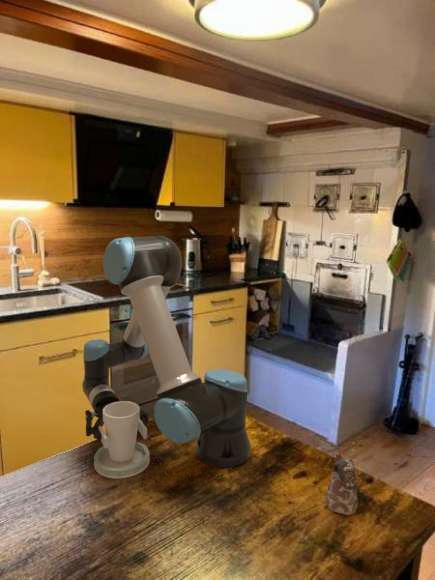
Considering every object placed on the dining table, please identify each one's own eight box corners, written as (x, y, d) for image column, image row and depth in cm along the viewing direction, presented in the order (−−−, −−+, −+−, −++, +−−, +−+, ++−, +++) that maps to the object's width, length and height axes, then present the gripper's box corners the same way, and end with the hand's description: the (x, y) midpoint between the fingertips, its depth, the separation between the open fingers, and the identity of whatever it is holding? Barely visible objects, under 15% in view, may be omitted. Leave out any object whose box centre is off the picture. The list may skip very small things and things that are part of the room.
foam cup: (131, 467, 109) (130, 420, 106) (97, 462, 111) (96, 415, 108) (144, 447, 118) (144, 403, 115) (113, 442, 120) (112, 399, 117)
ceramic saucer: (160, 459, 116) (160, 452, 116) (119, 486, 105) (119, 478, 104) (124, 440, 124) (124, 434, 124) (82, 463, 113) (82, 456, 113)
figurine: (339, 518, 96) (344, 470, 94) (319, 498, 102) (323, 453, 100) (363, 509, 99) (368, 462, 97) (342, 491, 105) (347, 446, 103)
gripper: (140, 406, 134) (167, 442, 115) (66, 421, 124) (81, 463, 105) (140, 383, 133) (167, 416, 113) (65, 397, 122) (80, 435, 103)
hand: (126, 438), depth 109 cm, fingers closed on foam cup, 9 cm apart
